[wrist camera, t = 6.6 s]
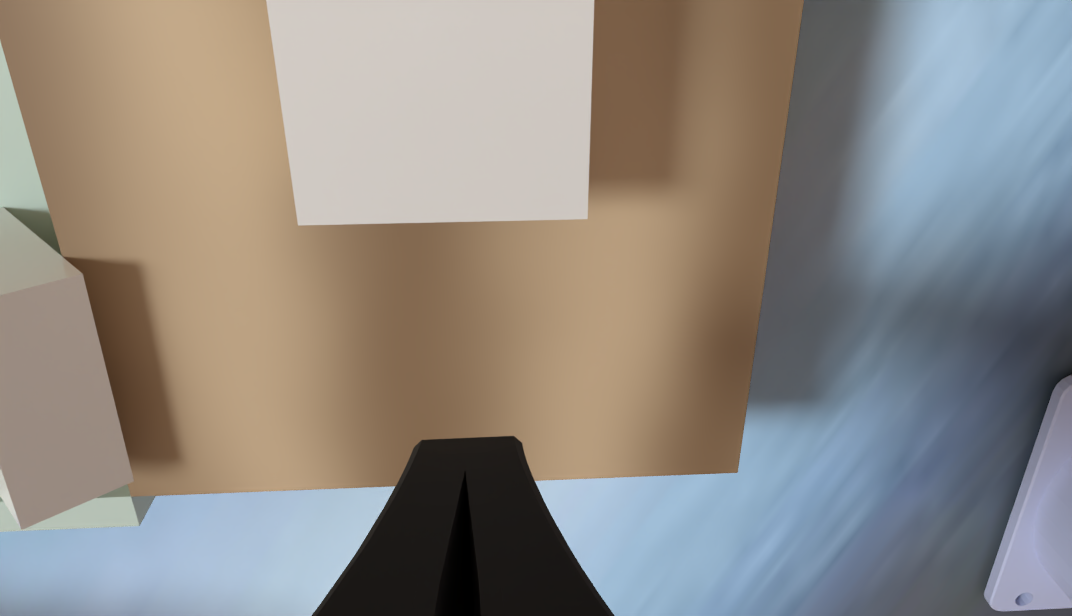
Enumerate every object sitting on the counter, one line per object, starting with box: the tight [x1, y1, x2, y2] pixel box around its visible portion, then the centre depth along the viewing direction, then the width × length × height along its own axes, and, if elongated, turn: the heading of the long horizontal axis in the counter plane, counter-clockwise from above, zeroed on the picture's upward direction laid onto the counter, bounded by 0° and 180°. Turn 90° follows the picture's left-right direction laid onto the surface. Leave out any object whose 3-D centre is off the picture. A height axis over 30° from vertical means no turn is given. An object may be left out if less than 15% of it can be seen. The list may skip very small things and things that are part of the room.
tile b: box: [266, 0, 594, 225], centre depth 13 cm, size 4×4×2 cm
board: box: [0, 0, 804, 497], centre depth 16 cm, size 13×12×3 cm
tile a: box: [0, 207, 134, 530], centre depth 16 cm, size 4×4×2 cm
